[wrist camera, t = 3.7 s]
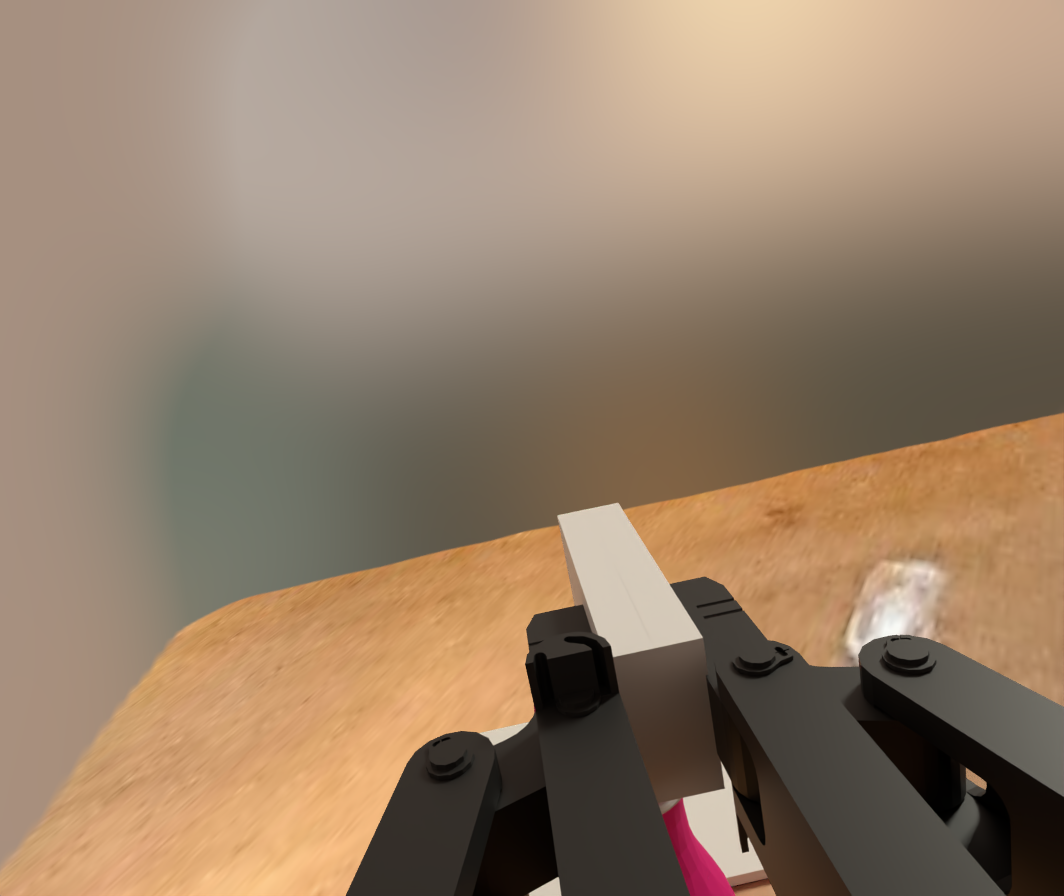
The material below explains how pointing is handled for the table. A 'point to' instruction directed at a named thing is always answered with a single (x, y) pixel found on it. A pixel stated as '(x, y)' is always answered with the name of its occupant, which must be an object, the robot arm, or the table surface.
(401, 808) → the robot arm
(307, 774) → the table surface
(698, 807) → the grey rubber mat
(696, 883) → the pepper mill
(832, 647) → the table surface
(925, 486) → the table surface
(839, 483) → the table surface
